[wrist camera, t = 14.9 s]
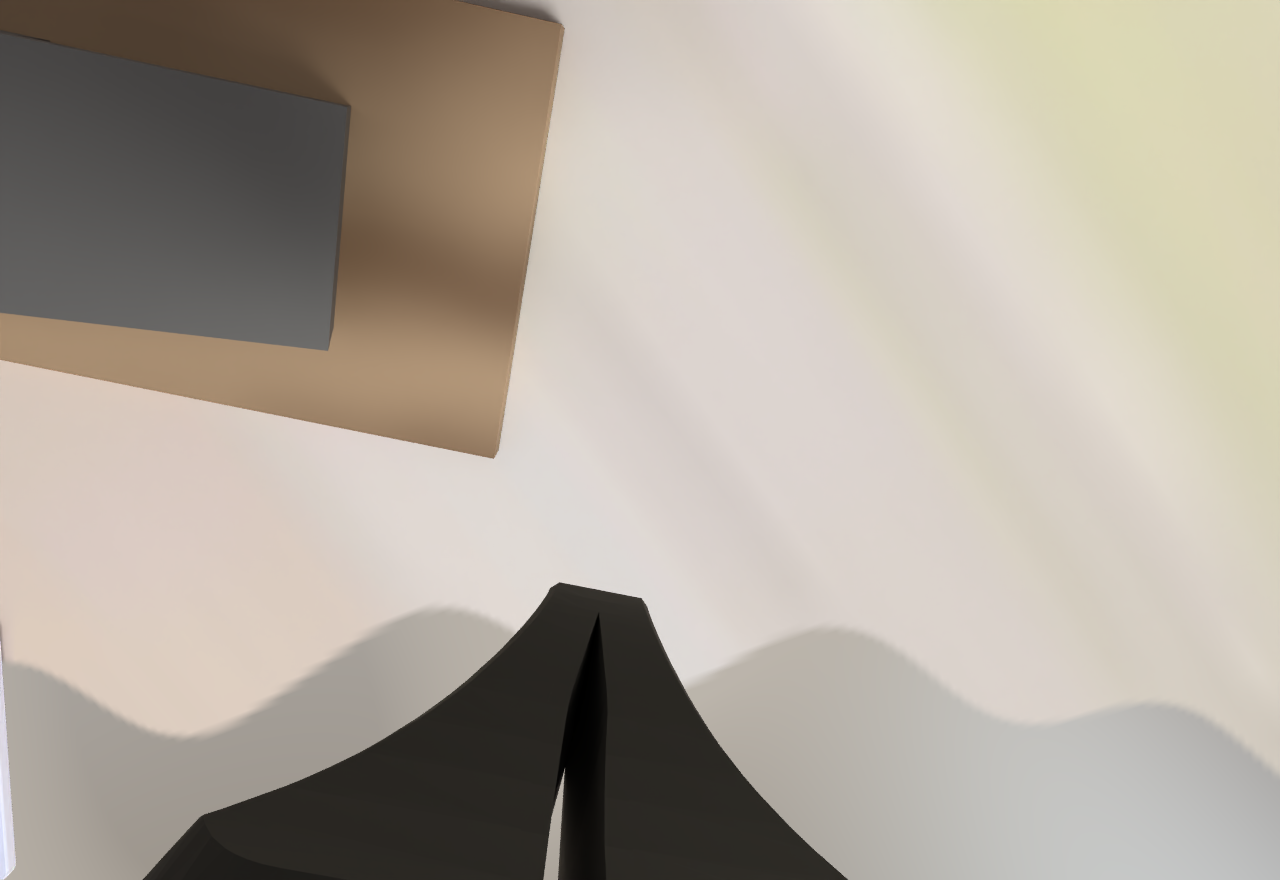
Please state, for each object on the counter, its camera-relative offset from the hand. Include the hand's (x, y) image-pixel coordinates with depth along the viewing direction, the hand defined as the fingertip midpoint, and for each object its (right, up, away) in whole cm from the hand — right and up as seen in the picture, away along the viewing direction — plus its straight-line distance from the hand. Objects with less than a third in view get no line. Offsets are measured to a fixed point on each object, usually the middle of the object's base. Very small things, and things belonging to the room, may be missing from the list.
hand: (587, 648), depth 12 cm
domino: (-6, +8, +6) cm, 11 cm away
